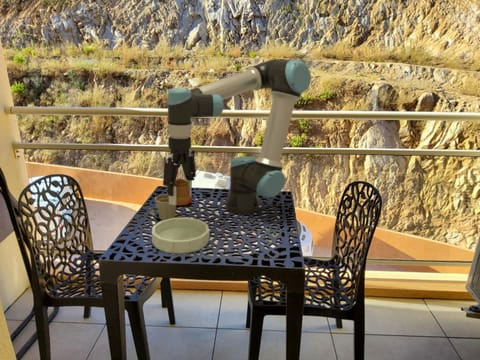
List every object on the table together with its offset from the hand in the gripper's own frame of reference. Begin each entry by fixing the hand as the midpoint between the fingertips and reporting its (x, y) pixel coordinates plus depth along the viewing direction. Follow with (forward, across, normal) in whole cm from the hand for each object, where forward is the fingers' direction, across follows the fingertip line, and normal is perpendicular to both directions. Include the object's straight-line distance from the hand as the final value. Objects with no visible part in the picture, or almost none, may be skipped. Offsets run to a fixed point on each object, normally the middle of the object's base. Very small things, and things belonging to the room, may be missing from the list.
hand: (180, 200), depth 135 cm
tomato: (+16, -28, -24) cm, 40 cm away
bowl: (+15, 0, 0) cm, 15 cm away
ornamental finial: (+1, 0, 0) cm, 1 cm away
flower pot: (+15, -12, -18) cm, 26 cm away
